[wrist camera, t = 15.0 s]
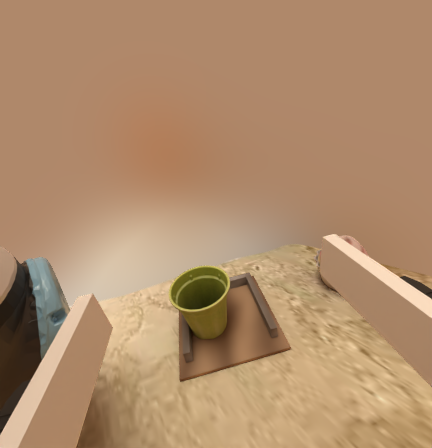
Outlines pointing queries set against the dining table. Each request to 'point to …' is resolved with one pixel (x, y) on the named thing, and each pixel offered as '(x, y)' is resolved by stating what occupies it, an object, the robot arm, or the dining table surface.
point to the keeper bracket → (233, 333)
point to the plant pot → (202, 299)
